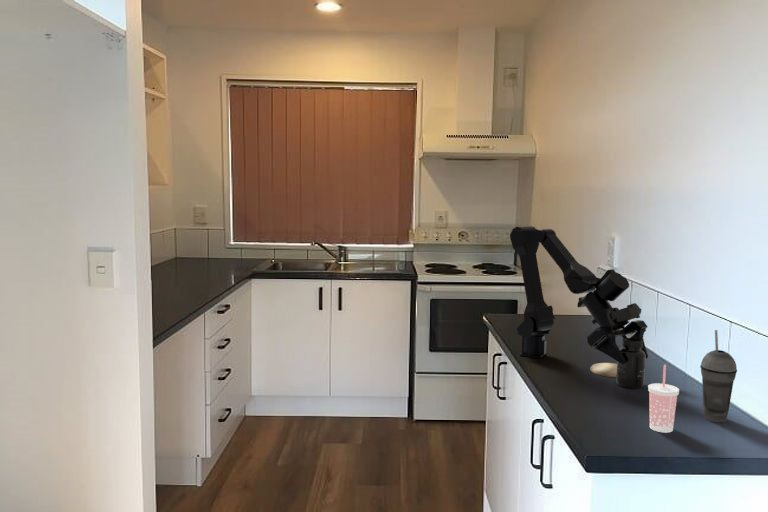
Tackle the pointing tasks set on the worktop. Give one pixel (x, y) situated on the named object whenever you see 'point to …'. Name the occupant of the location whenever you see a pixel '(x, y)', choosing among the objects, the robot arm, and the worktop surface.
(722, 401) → the beverage cup
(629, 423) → the worktop surface
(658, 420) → the beverage cup
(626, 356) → the supplement bottle
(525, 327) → the robot arm
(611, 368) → the coaster
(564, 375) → the worktop surface
